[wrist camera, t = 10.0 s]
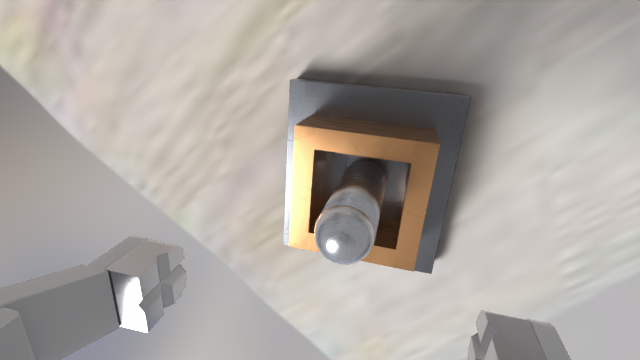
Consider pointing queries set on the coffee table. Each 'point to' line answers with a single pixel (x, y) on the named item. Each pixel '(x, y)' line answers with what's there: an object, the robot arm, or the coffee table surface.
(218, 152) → the coffee table surface
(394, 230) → the wooden square frame
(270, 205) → the coffee table surface
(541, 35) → the coffee table surface
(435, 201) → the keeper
